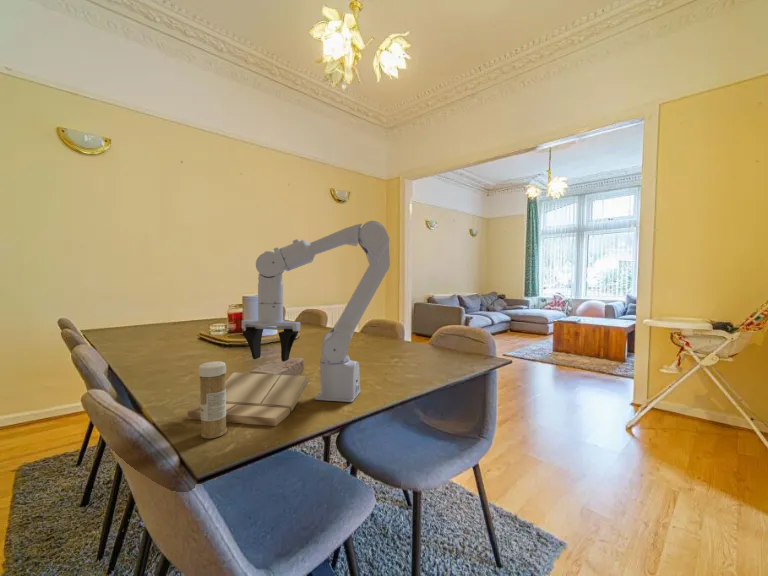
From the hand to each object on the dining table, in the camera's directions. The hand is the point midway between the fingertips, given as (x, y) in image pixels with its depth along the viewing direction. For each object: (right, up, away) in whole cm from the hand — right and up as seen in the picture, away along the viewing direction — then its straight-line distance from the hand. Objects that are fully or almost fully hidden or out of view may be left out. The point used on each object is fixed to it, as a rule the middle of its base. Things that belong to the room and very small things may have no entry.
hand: (270, 359), depth 83 cm
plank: (-2, -8, -1) cm, 8 cm away
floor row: (-3, -10, -10) cm, 14 cm away
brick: (-3, -10, +17) cm, 20 cm away
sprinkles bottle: (-5, -11, -18) cm, 21 cm away
